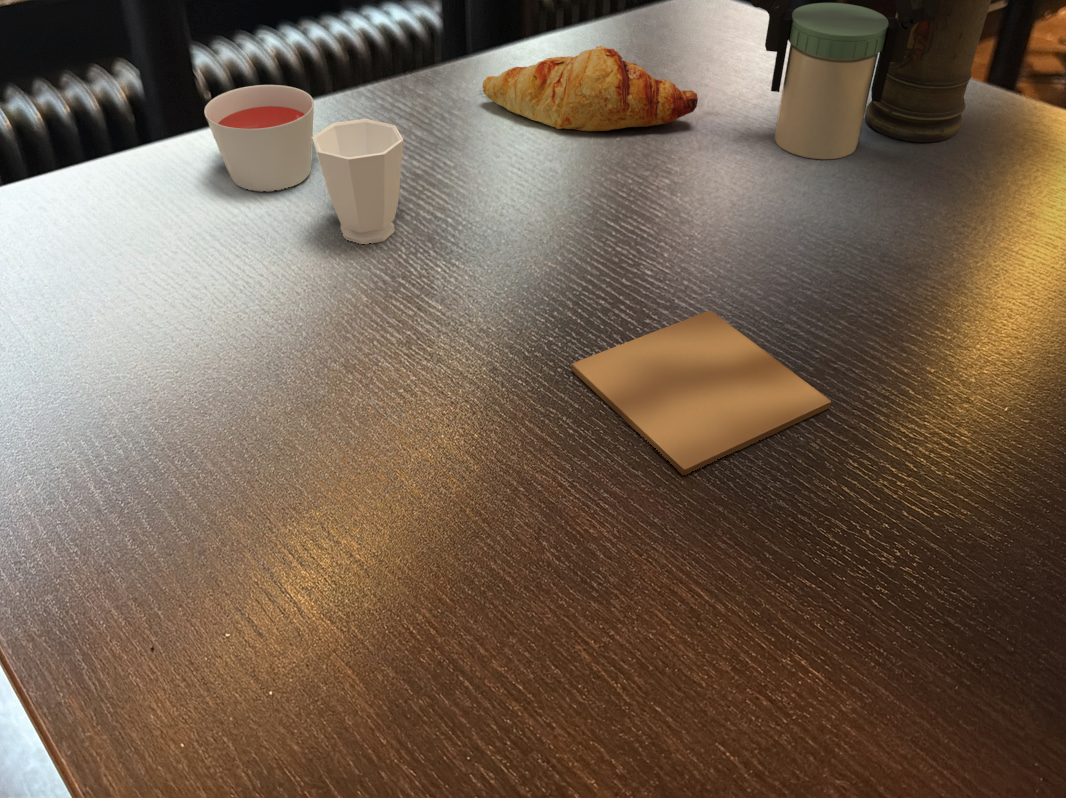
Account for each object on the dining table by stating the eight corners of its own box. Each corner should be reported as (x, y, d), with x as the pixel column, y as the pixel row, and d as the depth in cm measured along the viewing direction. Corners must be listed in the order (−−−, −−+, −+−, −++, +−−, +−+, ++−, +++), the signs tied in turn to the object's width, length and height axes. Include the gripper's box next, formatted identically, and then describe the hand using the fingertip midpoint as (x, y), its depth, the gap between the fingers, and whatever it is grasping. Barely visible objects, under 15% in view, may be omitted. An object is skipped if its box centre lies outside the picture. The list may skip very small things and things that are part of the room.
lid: (767, 35, 89) (770, 12, 88) (836, 18, 92) (840, -4, 91) (834, 66, 84) (839, 42, 82) (904, 47, 87) (910, 24, 86)
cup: (315, 251, 78) (300, 156, 73) (341, 190, 86) (329, 100, 81) (404, 255, 78) (396, 159, 73) (422, 193, 86) (415, 103, 80)
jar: (874, 146, 93) (901, 33, 86) (815, 167, 90) (839, 50, 83) (814, 117, 98) (836, 7, 91) (757, 135, 95) (775, 23, 88)
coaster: (830, 408, 64) (832, 401, 64) (683, 476, 59) (684, 469, 59) (709, 316, 72) (710, 309, 72) (571, 370, 67) (571, 363, 67)
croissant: (477, 148, 100) (463, 95, 93) (496, 68, 104) (485, 11, 96) (690, 166, 96) (693, 112, 89) (702, 83, 100) (706, 24, 93)
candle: (218, 204, 84) (202, 133, 80) (219, 156, 91) (205, 89, 87) (326, 193, 85) (316, 123, 81) (319, 147, 92) (310, 81, 88)
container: (940, 103, 101) (995, -89, 89) (974, 143, 94) (1037, -60, 82) (853, 104, 101) (896, -89, 89) (879, 144, 94) (930, -60, 82)
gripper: (1021, -198, 77) (942, 86, 92) (747, -211, 81) (713, 64, 96) (1035, -180, 72) (949, 119, 86) (740, -195, 75) (705, 95, 90)
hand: (825, 90), depth 91 cm, fingers closed on lid, 8 cm apart
